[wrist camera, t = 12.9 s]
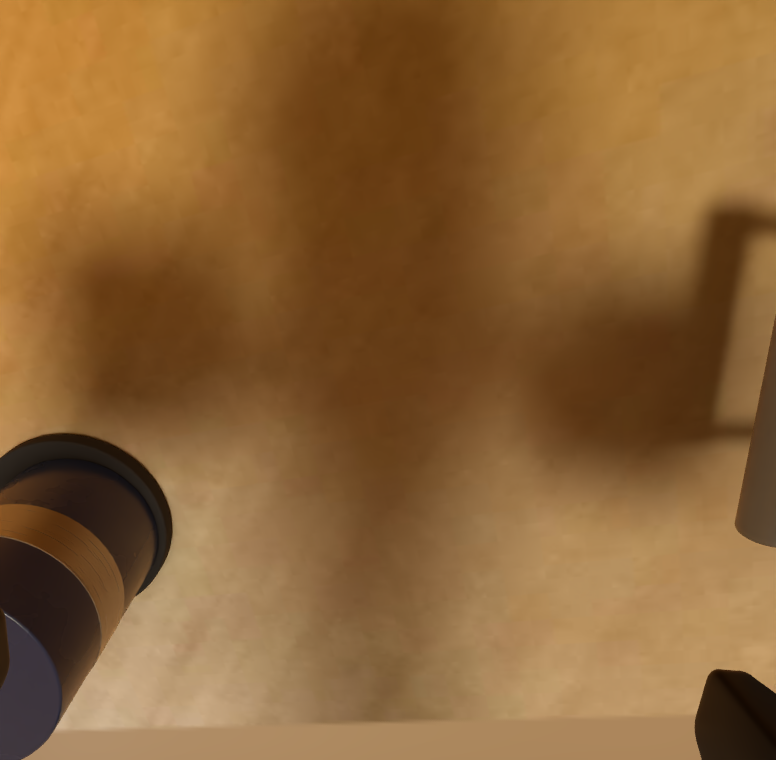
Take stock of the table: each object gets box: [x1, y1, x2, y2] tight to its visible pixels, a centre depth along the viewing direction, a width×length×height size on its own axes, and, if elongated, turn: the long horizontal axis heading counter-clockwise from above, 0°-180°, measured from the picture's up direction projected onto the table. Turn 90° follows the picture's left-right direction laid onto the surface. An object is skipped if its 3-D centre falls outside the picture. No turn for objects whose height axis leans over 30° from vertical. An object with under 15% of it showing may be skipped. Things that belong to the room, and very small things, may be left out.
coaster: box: [0, 434, 172, 596], centre depth 22 cm, size 6×6×1 cm
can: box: [0, 459, 158, 760], centre depth 18 cm, size 5×5×6 cm
